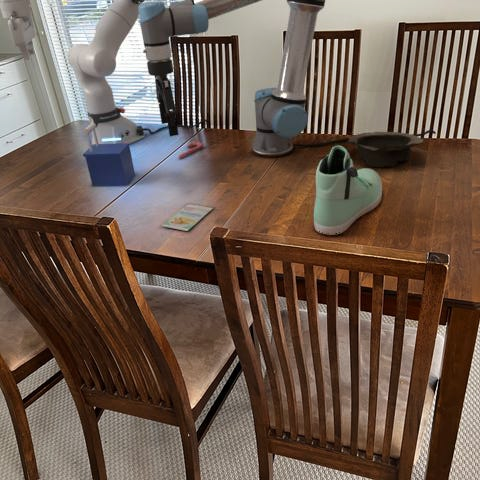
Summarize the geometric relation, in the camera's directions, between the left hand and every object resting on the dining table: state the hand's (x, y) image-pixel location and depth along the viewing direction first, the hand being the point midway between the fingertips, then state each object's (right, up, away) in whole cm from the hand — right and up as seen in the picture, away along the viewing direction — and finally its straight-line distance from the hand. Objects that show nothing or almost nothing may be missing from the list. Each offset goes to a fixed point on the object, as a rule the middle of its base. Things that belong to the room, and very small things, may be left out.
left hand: (29, 56), depth 158 cm
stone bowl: (+119, -32, +11) cm, 124 cm away
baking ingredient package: (+54, -54, -17) cm, 78 cm away
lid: (+24, -30, +5) cm, 39 cm away
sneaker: (+101, -51, -19) cm, 115 cm away
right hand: (+47, -25, -4) cm, 53 cm away
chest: (+25, -39, +11) cm, 48 cm away
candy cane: (+49, -26, +29) cm, 63 cm away
